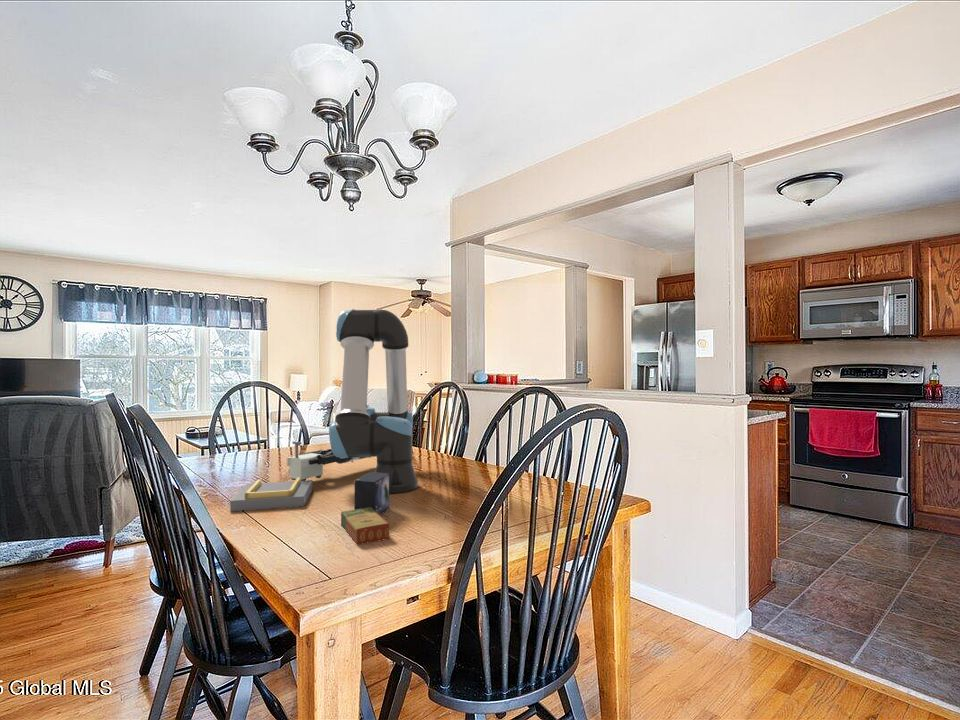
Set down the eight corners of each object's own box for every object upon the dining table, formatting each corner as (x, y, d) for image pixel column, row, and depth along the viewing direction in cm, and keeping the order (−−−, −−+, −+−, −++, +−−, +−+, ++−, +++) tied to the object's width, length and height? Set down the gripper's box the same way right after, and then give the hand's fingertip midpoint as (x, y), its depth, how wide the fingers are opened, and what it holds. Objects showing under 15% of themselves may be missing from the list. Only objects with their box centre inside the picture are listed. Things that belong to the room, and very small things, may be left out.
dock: (312, 489, 171) (312, 475, 171) (304, 506, 151) (303, 491, 151) (247, 493, 167) (247, 479, 167) (230, 511, 147) (230, 495, 147)
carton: (355, 546, 120) (355, 528, 120) (340, 527, 134) (339, 510, 134) (390, 540, 124) (389, 522, 124) (371, 521, 138) (371, 505, 138)
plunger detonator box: (322, 477, 181) (322, 438, 181) (301, 482, 173) (300, 442, 173) (311, 475, 184) (311, 437, 184) (289, 480, 176) (289, 441, 176)
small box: (376, 520, 138) (375, 481, 138) (353, 518, 140) (352, 480, 139) (390, 508, 149) (390, 472, 148) (369, 507, 150) (369, 471, 150)
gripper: (364, 464, 188) (311, 477, 169) (329, 459, 199) (276, 470, 180) (364, 444, 188) (311, 454, 169) (329, 440, 199) (276, 449, 180)
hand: (293, 462), depth 174 cm, fingers closed on plunger detonator box, 6 cm apart
